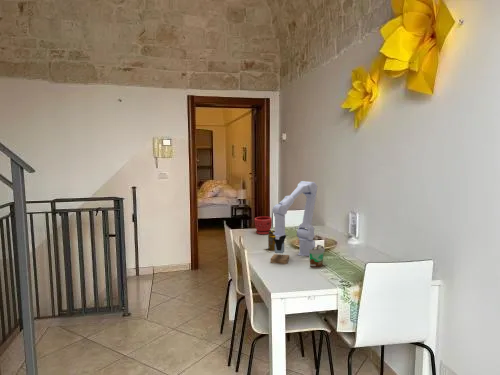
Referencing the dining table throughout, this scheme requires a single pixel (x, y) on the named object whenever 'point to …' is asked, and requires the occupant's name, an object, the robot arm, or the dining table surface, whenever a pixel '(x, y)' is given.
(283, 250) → the block
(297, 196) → the robot arm
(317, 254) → the food container
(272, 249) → the condiment
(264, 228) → the plant pot
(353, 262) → the dining table surface
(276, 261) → the base
